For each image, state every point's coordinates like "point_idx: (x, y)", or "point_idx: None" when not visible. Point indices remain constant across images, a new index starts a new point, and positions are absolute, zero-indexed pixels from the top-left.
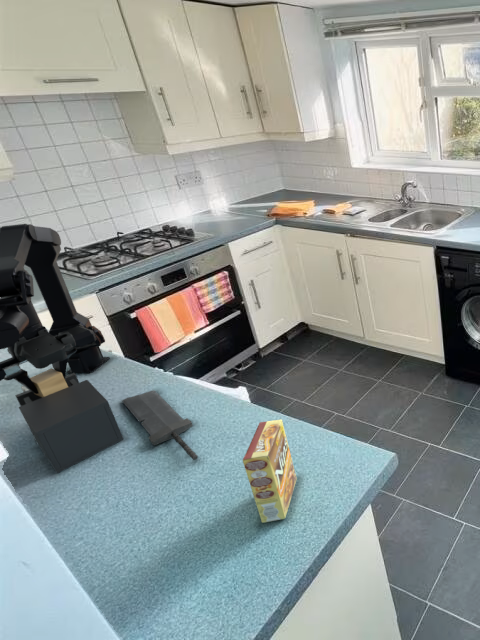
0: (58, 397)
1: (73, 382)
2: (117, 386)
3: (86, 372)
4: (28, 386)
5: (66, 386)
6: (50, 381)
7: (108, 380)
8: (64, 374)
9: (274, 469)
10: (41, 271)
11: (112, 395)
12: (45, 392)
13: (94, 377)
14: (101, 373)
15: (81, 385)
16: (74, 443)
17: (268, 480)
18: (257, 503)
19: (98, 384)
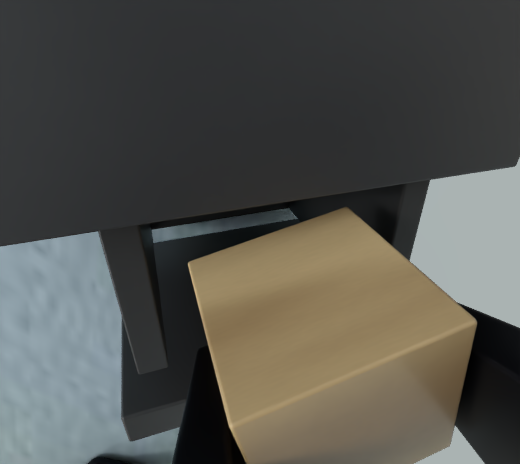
0: (315, 35)
1: (144, 323)
2: (7, 332)
3: (115, 460)
4: (509, 327)
5: (200, 269)
6: (341, 329)
7: (46, 390)
8: (194, 410)
9: None
10: None
11: (28, 274)
12: (356, 240)
13: (94, 427)
14: (70, 440)
15: (57, 129)
16: None
17: None
18: None
19: (83, 382)
